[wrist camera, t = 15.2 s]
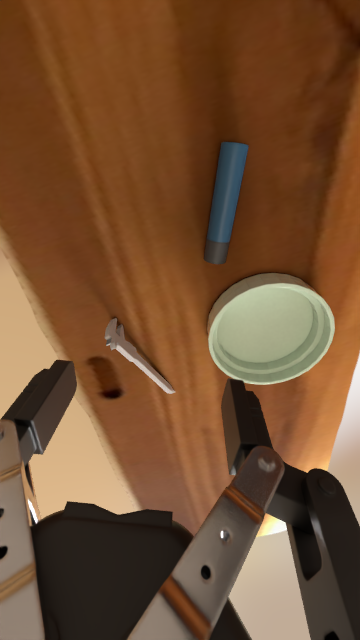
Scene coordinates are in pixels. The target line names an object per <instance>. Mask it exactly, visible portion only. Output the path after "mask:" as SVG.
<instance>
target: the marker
mask: <svg viewBox="0 0 360 640" xmlns="http://www.w3.org/2000/svg"><path fill="white" fill-rule="evenodd" d="M248 147H249V146H248V145H247V144H242V143H235V142H222V143H221V148H220V155H219V162H218V168H217V175H216V181H215V188H214V194H213V201H212V208H211V214H210V221H209V227H208V234H207V240H206V247H205V254H204V260H205V261H206V262H209V263H213V264H224V263H225V262H226V257H227V252H228V247H229V242H230V237H231V232H232V227H233V222H234V217H235V212H236V207H237V202H238V197H239V192H240V187H241V182H242V177H243V172H244V167H245V162H246V157H247V152H248Z"/></svg>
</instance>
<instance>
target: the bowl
mask: <svg viewBox="0 0 360 640" xmlns="http://www.w3.org/2000/svg"><path fill="white" fill-rule="evenodd" d="M334 330H335V326H334V317H333V314H332V312H331V309H330V307H329V305H328V304H327V303H326V302H325V300H324V299H323V298H322V297H321V296H320V295H319V294H318V293H317V292H316V291H315V290H314V289H313V288H312V287H311V286H310V285H308V284H307V283H305V282H304V281H302V280H301V279H299V278H296V277H293V276H291V275H288V274H279V273H267V274H258V275H255V276H252V277H248V278H245V279H243V280H242V281H240V282H238V283H236V284H234V285H233V286H231V287H230V288H229V289H228V290H226V291H225V292H224V293H223V294H222V295H221V296H220V297H219V299H218V300H217V301H216V302H215V304H214V305H213V308H212V310H211V312H210V314H209V318H208V324H207V331H208V342H209V351H210V353H211V356H212V359H213V360H214V362H215V363H216V364H217V366H218V367H219V368H220V369H221V370H222V371H223V372H224V373H226V374H227V375H228V376H230V377H232V378H234V379H239V380H243V381H244V382H246V383H251V384H261V385H262V384H275V383H279V382H284V381H287V380H290V379H292V378H295V377H297V376H299V375H301V374H303V373H305V372H306V371H308V370H309V369H311V368H312V367H313V366H314V365H315V364H317V363H318V362H319V361H320V360H321V358H322V357H323V356H324V355H325V353H326V352H327V350H328V348H329V346H330V344H331V342H332V339H333V335H334Z"/></svg>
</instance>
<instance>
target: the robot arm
mask: <svg viewBox="0 0 360 640" xmlns="http://www.w3.org/2000/svg"><path fill="white" fill-rule="evenodd" d="M76 386H77V382H76V375H75V369H74V363H73V362H72V361H65V360H56V361H55V362H54V363H53V365H52V366H51V368H50V369H43V370H42V371H41V372H39V373H38V374H36V375H35V376H34V377H33V378H32V380H31V381H30V382H29V384H28V386H26V387H25V389H24V390H23V392H22V393H21V394H20V395H19V396H18V398H17V399H16V400H15V402H14V403H13V404H12V405H11V407H10V408H9V409H8V411H7V412H6V413H5V414H4V416H3V417H2V418H1V419H0V640H252V639H251V637H250V635H249V634H248V632H247V630H246V628H245V626H244V624H243V622H242V621H241V619H240V617H239V615H238V613H237V612H236V610H235V608H234V606H233V604H232V603H231V601H230V599H229V597H228V596H229V594H230V592H231V589H232V587H233V585H234V583H235V581H236V578H237V576H238V574H239V572H240V570H241V568H242V566H243V563H244V561H245V559H246V557H247V555H248V553H249V550H250V548H251V546H252V544H253V541H254V539H255V537H256V535H257V533H258V531H259V529H260V526H261V524H262V522H263V519H264V515H265V513H267V514H269V515H271V516H273V517H276V518H278V519H280V520H282V521H284V522H286V526H287V531H288V535H289V540H290V544H291V549H292V554H293V559H294V563H295V568H296V573H297V577H298V582H299V587H300V591H301V596H302V600H303V605H304V610H305V615H306V619H307V624H308V629H309V633H310V637H311V640H360V526H359V524H358V521H357V519H356V517H355V514H354V512H353V510H352V507H351V505H350V502H349V500H348V498H347V495H346V493H345V491H344V489H343V487H342V485H341V483H340V482H339V481H338V480H337V479H336V478H335V477H334V476H333V475H332V474H330V473H329V472H327V471H325V470H322V469H317V468H315V469H311V470H310V471H309V472H308V473H306V472H304V471H301V470H299V469H297V468H294V467H292V466H290V465H288V464H286V463H285V462H284V461H283V460H282V459H281V457H280V456H279V454H278V453H277V452H275V451H274V449H273V447H272V444H271V440H270V437H269V433H268V430H267V426H266V423H265V419H264V416H263V412H262V411H261V405H260V402H259V399H258V398H257V397H256V395H255V394H254V393H253V391H246V389H245V385H244V381H243V380H239V379H229V378H228V380H227V383H226V387H225V390H224V394H223V398H222V405H221V409H222V419H223V427H224V435H225V444H226V452H227V461H228V469H229V474H230V475H235V477H234V479H233V480H232V482H231V483H230V485H229V486H228V487H226V488H225V490H224V491H223V493H222V494H221V496H220V497H219V499H218V500H217V502H216V504H215V505H214V507H213V508H212V510H211V511H210V513H209V515H208V516H207V518H206V519H205V521H204V522H203V524H202V525H201V527H200V529H199V530H198V532H197V533H196V535H195V536H193V535H192V534H191V533H190V532H189V531H188V530H187V529H186V528H185V527H184V526H182V525H181V524H179V523H177V522H175V521H173V520H172V513H173V512H169V511H159V510H149V509H146V510H141V511H136V512H131V513H127V514H121V515H117V514H115V513H112V512H110V511H108V510H106V509H103V508H101V507H99V506H97V505H94V504H88V503H78V502H67V504H66V506H65V509H64V510H62V511H58V512H56V513H53V514H51V515H49V516H46V517H45V518H43V519H41V516H40V512H39V509H38V505H37V501H36V495H35V490H34V485H33V480H32V474H31V469H30V464H29V460H30V459H31V457H32V455H33V454H43V453H44V451H45V449H46V447H47V445H48V443H49V441H50V439H51V437H52V435H53V434H54V432H55V430H56V428H57V426H58V424H59V422H60V421H61V419H62V417H63V415H64V413H65V411H66V409H67V407H68V406H69V403H70V402H71V400H72V398H73V396H74V394H75V391H76Z"/></svg>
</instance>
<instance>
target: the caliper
mask: <svg viewBox="0 0 360 640" xmlns="http://www.w3.org/2000/svg"><path fill="white" fill-rule="evenodd" d="M116 324H117V319H116V318H115V319H113V320H111V321H110V323H109V324H108V326H107V328H106V333H105V339H106V340H107V343H106V346H107V345H109V344H110V347H111V350H113V349H115V348H116V349H117V350H118V351H119V352H120V353H121V354H122V355H124V356H125V357H126V358H127V359H128V360H129V361H130V362H132V361H133V362H134V363H135V364H136V365H137V366H138V367H139V368H140V369H141V370H142V371H144V372H145V373H146V374H147V375H148V376H149V377H150V378H151V379H152V380H153V381H154V382H156V383H157V384H158V385H159V386H160V387H161V388H162V389H163V390H164V391H166V392H167V393H170V394H172V393H174V392H175V391H174V390H173V389H172V386H171V385H170V384H169V383H168V382H167V381H166V380H165V379H164V378H163V377H162V376H161V375H160V374H159V373H157V372H156V371H155V370H154V369H153V368H152V367H151V366H150V365H149V364H148V363H147V362H146V361H145V360H144V359H143V358H142V357H141V356H140V355H139V354H138V353H137V352H136V348H135V347H134V346H133V345H132V344H131V343H129V342H127V341H126V340H125V336H124V327H123V325H122V324H121V325H119V326H118V327H117V331H116ZM115 332H116V333H115Z"/></svg>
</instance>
